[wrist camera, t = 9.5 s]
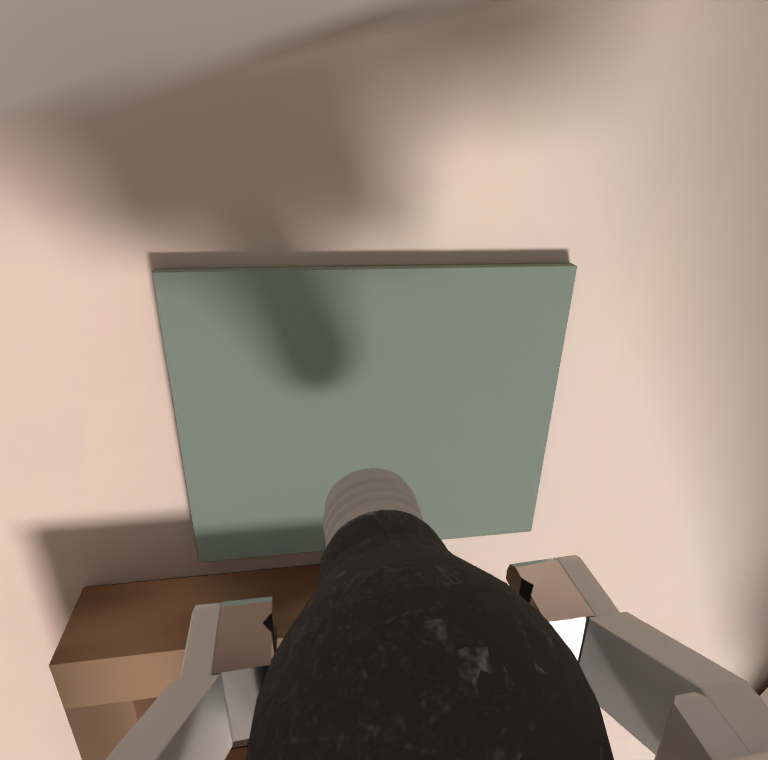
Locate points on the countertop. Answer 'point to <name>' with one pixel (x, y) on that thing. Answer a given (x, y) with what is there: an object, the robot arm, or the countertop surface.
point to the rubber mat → (360, 393)
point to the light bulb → (417, 652)
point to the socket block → (149, 645)
